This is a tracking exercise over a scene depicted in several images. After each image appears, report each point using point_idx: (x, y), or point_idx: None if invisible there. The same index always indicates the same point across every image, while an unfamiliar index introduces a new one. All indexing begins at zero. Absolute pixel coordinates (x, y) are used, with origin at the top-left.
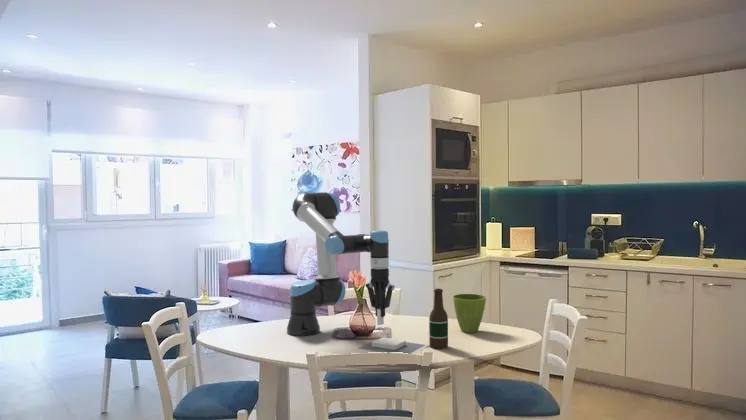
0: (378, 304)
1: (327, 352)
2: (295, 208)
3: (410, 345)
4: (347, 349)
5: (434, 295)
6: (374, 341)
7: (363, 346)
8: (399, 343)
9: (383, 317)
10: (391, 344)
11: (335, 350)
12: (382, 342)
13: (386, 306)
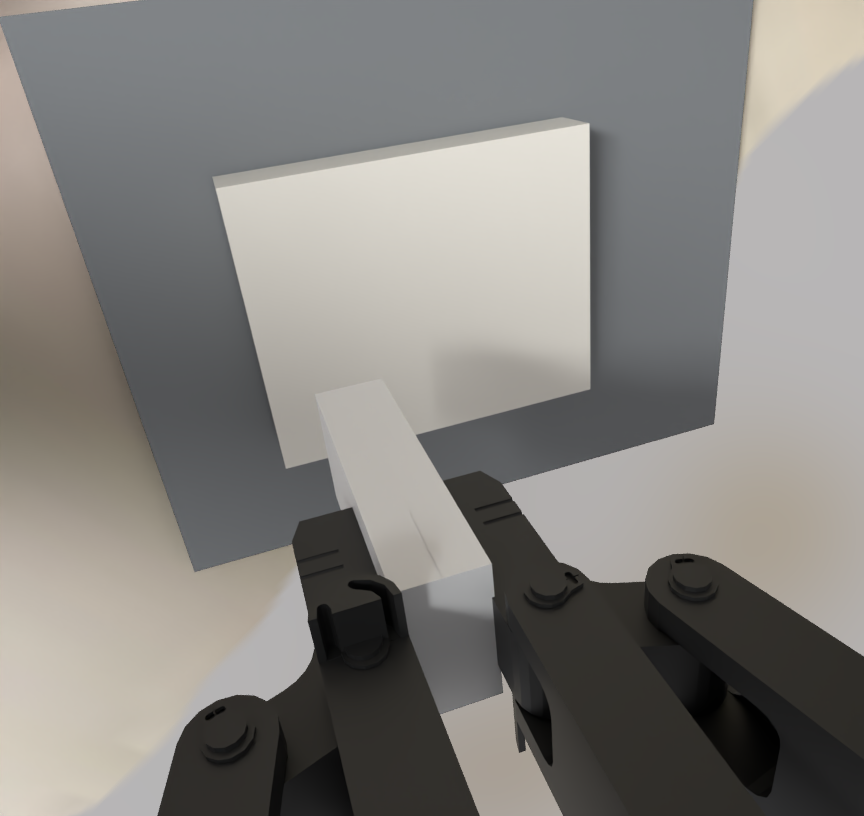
0: (384, 727)
1: (55, 793)
2: None
3: (612, 88)
4: (109, 628)
5: None
6: (295, 432)
7: (195, 496)
8: (589, 290)
9: (418, 443)
10: (535, 383)
11: (48, 722)
12: (402, 394)
13: (724, 698)
